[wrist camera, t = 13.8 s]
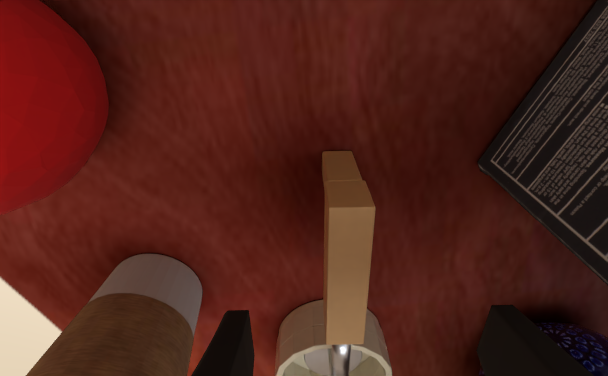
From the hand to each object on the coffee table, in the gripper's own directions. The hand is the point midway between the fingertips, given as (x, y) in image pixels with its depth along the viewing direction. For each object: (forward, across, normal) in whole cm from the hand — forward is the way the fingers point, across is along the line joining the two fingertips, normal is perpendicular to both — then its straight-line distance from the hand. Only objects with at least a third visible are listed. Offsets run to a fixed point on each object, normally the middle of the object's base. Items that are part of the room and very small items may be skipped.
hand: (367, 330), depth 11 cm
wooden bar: (+10, 0, +7) cm, 12 cm away
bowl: (+10, 0, +13) cm, 17 cm away
